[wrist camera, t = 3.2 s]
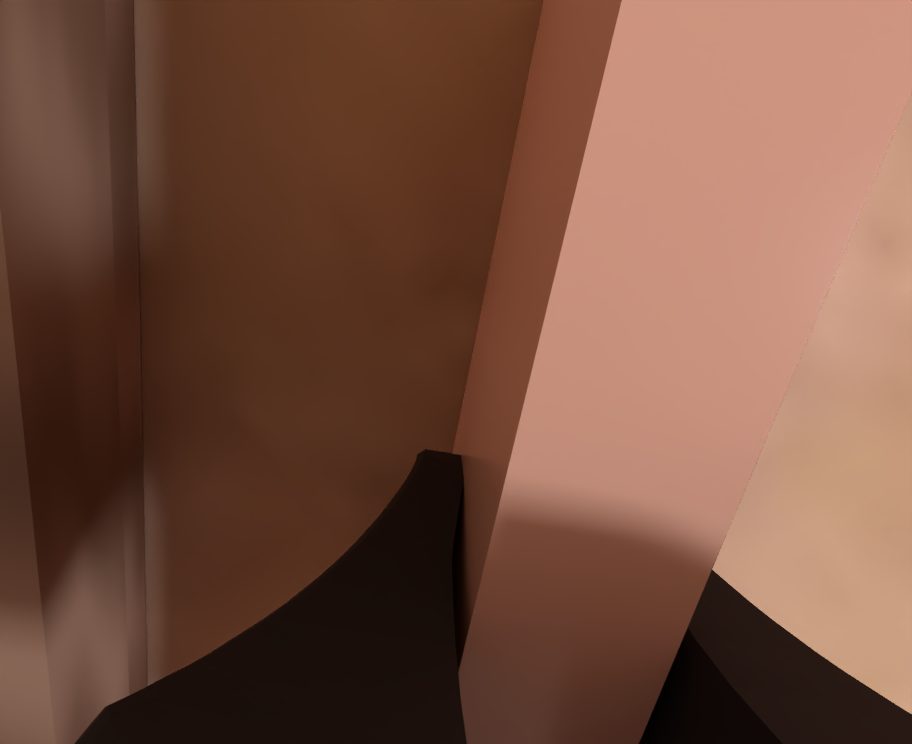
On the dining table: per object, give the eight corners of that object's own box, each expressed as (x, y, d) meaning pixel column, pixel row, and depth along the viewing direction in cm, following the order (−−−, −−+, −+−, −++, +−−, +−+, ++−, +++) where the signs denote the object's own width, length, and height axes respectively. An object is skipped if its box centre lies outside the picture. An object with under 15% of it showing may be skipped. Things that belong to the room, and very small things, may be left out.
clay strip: (476, 749, 15) (482, 1116, 10) (395, 739, 15) (353, 1103, 9) (680, 6, 9) (1019, -163, 4) (547, -21, 9) (680, -240, 3)
